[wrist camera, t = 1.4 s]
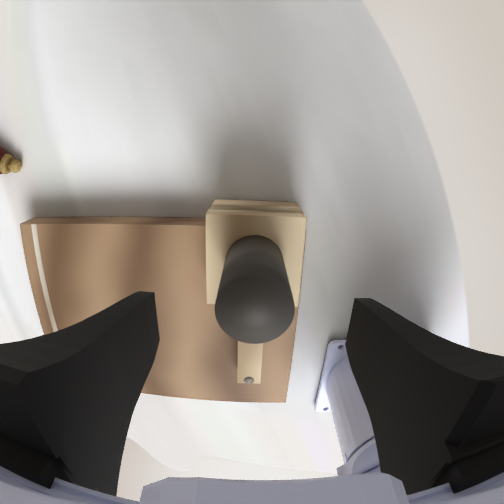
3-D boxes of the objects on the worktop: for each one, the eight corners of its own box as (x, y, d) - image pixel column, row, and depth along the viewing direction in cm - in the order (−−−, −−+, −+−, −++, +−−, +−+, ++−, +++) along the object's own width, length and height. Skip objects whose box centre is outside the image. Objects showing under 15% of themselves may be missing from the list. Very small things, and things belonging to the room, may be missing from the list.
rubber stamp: (295, 202, 20) (328, 250, 11) (281, 359, 24) (292, 455, 15) (215, 199, 20) (185, 245, 11) (216, 357, 24) (202, 453, 15)
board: (301, 221, 21) (306, 229, 19) (283, 385, 25) (285, 402, 23) (34, 217, 20) (19, 224, 18) (67, 364, 25) (58, 377, 23)
